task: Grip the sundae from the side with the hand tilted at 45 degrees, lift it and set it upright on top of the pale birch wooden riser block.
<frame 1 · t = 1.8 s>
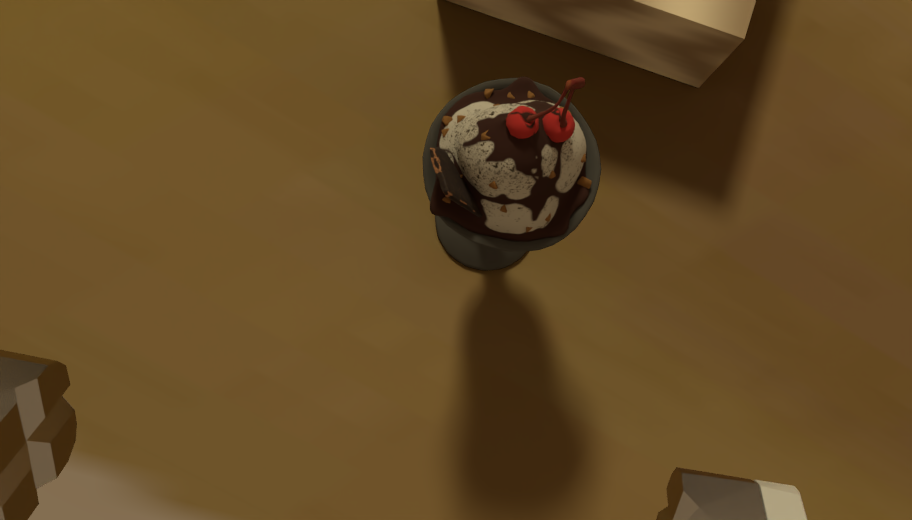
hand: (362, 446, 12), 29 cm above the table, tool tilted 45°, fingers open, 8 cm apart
sundae: (486, 219, 42), on the table
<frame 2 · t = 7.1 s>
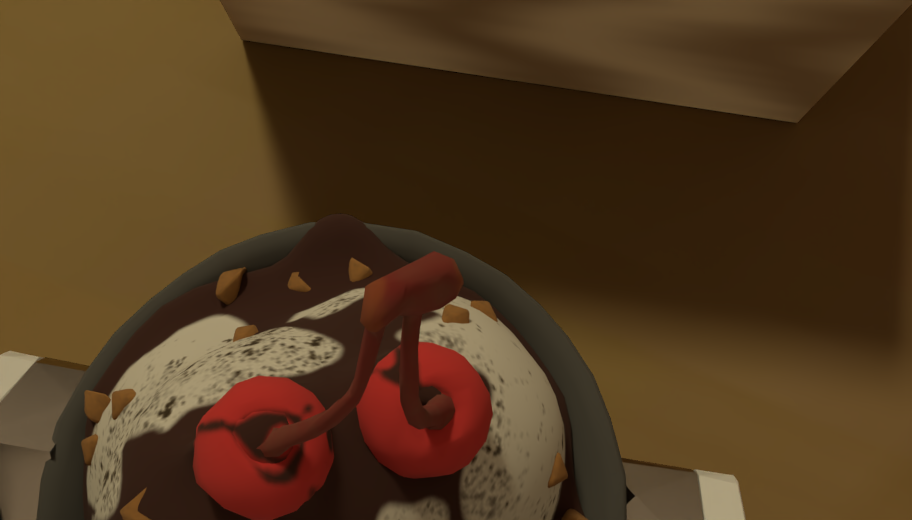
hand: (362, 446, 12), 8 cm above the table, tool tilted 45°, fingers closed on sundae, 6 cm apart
sundae: (403, 481, 20), on the table, touching gripper
when the fingers open (16 cm above the table, at t = 14.0 s): sundae drops 1 cm, resting on riser.
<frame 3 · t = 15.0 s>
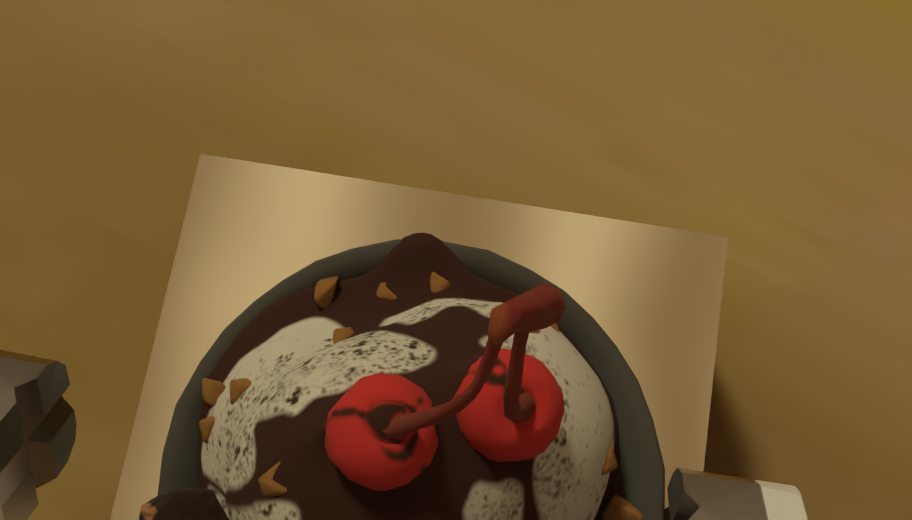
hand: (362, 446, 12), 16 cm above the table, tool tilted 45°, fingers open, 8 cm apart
sundae: (441, 470, 21), point 6 cm above the table, touching riser
riser: (425, 464, 27), on the table
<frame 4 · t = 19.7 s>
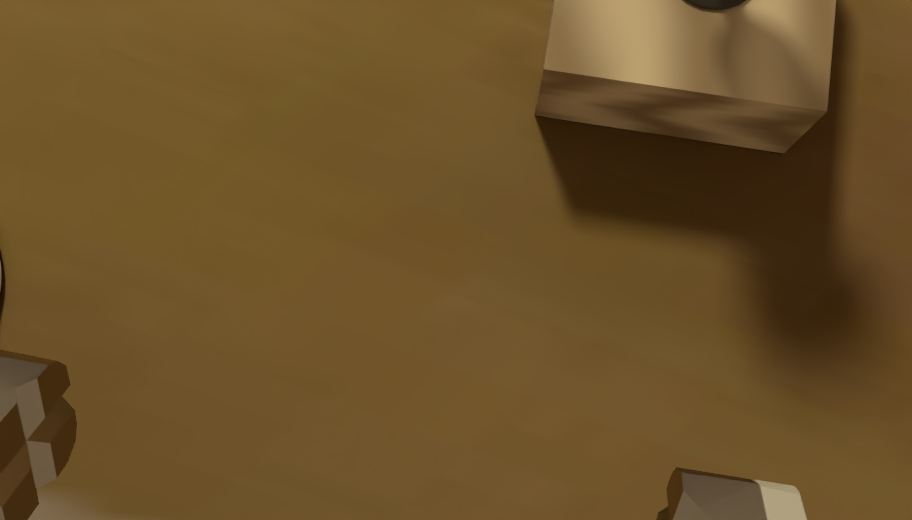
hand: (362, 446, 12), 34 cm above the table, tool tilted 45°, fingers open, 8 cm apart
riser: (672, 21, 50), on the table
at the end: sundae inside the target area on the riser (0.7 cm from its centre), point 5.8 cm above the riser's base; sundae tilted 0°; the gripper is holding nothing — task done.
